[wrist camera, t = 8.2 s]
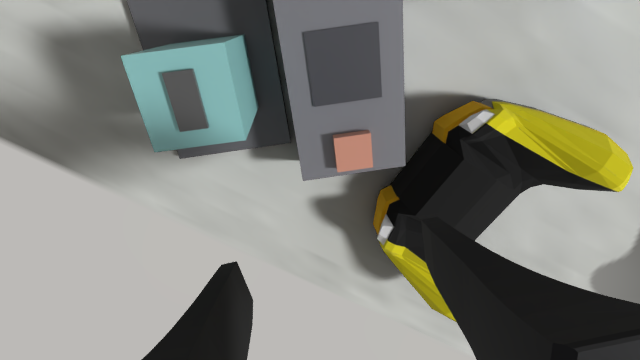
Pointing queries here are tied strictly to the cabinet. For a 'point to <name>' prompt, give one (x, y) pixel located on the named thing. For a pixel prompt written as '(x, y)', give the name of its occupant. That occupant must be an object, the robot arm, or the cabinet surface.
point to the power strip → (344, 83)
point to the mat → (214, 22)
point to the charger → (194, 92)
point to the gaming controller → (487, 177)
